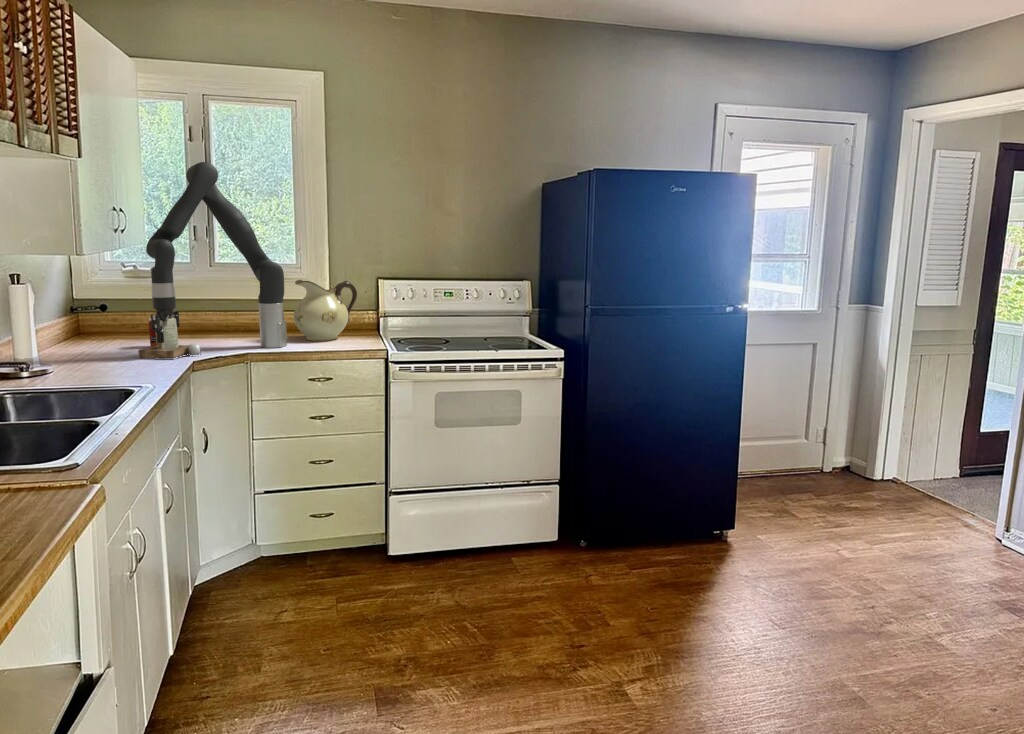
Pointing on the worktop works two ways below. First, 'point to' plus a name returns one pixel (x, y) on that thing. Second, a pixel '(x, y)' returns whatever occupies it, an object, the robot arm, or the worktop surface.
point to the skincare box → (169, 336)
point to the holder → (163, 352)
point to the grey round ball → (194, 349)
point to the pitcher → (323, 311)
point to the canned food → (152, 335)
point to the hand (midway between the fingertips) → (167, 341)
